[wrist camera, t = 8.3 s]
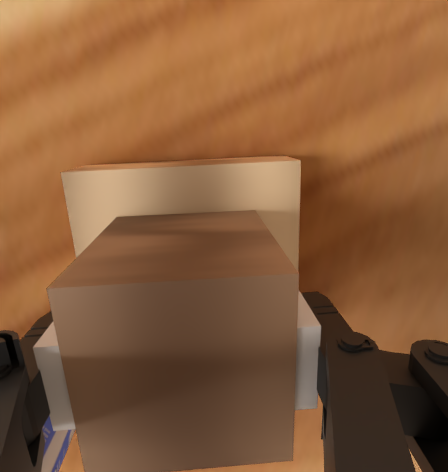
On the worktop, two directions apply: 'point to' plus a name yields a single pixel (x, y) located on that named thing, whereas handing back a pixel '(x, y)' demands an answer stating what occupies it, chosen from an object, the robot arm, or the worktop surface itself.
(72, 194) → the oak base slab
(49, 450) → the pill bottle
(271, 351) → the walnut block
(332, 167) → the worktop surface
